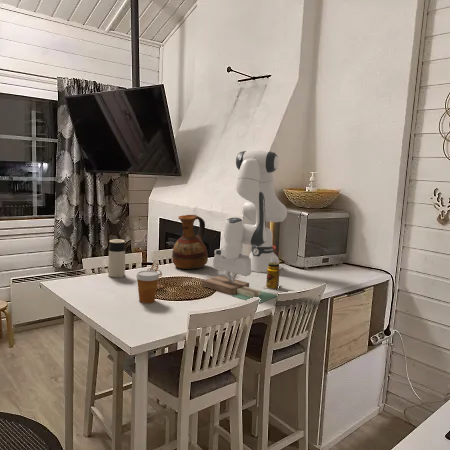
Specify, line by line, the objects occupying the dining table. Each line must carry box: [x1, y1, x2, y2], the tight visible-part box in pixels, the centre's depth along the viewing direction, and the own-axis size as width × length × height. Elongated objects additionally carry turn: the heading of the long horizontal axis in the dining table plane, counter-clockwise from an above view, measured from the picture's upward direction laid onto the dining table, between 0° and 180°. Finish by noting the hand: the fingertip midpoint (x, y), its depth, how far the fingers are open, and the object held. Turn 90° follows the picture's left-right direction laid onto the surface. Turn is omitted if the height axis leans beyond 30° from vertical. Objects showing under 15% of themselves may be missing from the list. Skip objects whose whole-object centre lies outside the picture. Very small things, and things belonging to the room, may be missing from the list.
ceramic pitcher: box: [171, 214, 209, 270], centre depth 236 cm, size 20×20×30 cm
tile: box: [236, 286, 262, 298], centre depth 192 cm, size 6×9×2 cm, turn 51°
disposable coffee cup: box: [135, 270, 160, 304], centre depth 175 cm, size 10×10×12 cm
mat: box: [232, 290, 277, 304], centre depth 191 cm, size 16×14×1 cm
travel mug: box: [107, 238, 126, 278], centre depth 211 cm, size 8×8×18 cm
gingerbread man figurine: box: [146, 262, 165, 288], centre depth 193 cm, size 9×4×12 cm, turn 138°
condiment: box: [263, 263, 283, 291], centre depth 206 cm, size 7×8×12 cm
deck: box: [200, 275, 250, 296], centre depth 201 cm, size 14×18×3 cm
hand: (231, 281), depth 199 cm, fingers closed
